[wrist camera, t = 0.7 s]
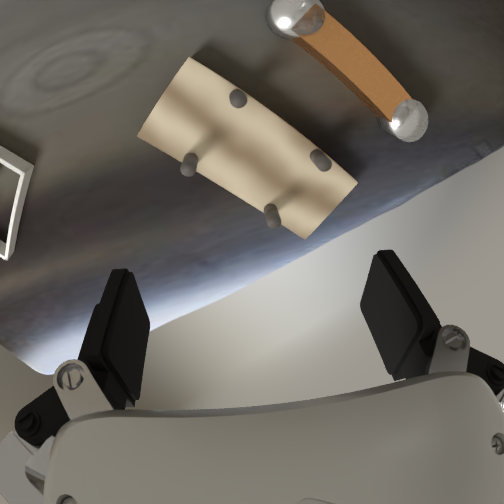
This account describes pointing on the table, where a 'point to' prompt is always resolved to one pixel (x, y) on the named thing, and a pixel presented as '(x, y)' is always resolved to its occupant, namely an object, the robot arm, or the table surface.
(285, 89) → the table surface
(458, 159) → the table surface
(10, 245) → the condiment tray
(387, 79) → the orange dumbbell
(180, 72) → the tool rack
